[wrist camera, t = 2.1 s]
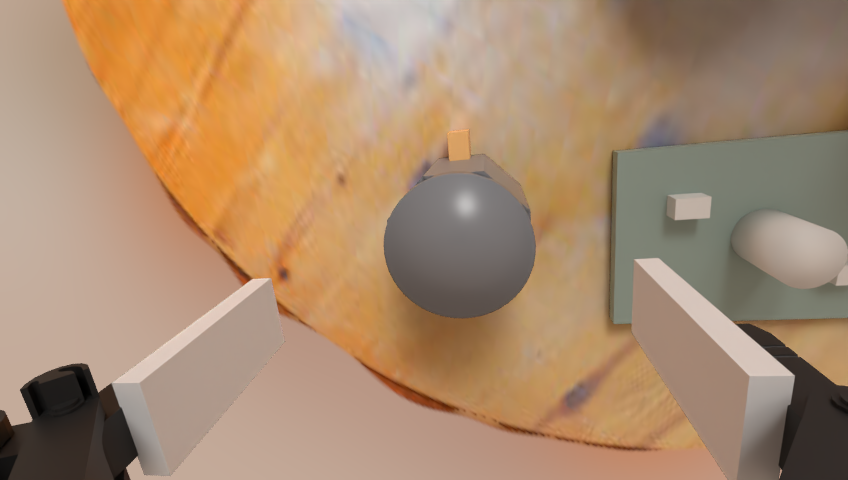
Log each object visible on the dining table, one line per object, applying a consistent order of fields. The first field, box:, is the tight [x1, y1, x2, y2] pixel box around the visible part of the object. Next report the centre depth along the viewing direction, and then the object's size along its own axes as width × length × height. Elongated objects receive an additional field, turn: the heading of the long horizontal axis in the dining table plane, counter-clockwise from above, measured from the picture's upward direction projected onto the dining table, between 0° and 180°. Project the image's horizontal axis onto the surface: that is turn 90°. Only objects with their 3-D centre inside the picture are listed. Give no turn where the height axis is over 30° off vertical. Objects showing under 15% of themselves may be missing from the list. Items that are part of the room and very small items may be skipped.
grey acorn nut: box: [384, 129, 536, 318], centre depth 24 cm, size 10×7×8 cm
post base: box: [610, 130, 848, 324], centre depth 23 cm, size 11×16×5 cm
